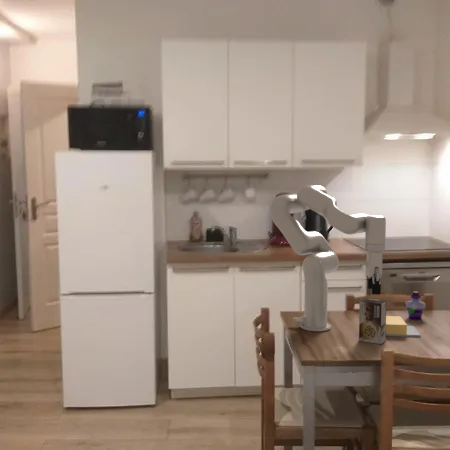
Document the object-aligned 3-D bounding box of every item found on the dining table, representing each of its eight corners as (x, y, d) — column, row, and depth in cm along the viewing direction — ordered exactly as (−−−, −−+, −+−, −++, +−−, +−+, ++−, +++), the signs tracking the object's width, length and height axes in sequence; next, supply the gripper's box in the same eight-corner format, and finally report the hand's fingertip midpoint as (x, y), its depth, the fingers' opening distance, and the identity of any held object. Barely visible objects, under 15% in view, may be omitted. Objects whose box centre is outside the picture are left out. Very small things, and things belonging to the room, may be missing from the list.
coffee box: (386, 340, 239) (387, 300, 237) (380, 344, 234) (382, 303, 232) (363, 336, 244) (364, 297, 242) (358, 340, 238) (359, 300, 236)
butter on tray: (364, 335, 245) (364, 323, 245) (360, 326, 258) (360, 315, 258) (420, 336, 243) (421, 325, 243) (413, 327, 256) (413, 316, 256)
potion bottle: (403, 319, 269) (404, 292, 268) (405, 314, 277) (406, 288, 275) (424, 321, 266) (425, 294, 264) (425, 316, 274) (426, 290, 272)
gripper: (362, 244, 243) (361, 286, 245) (368, 251, 226) (367, 296, 228) (381, 244, 243) (380, 286, 244) (389, 251, 225) (388, 296, 227)
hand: (374, 291), depth 236 cm, fingers open, 9 cm apart
